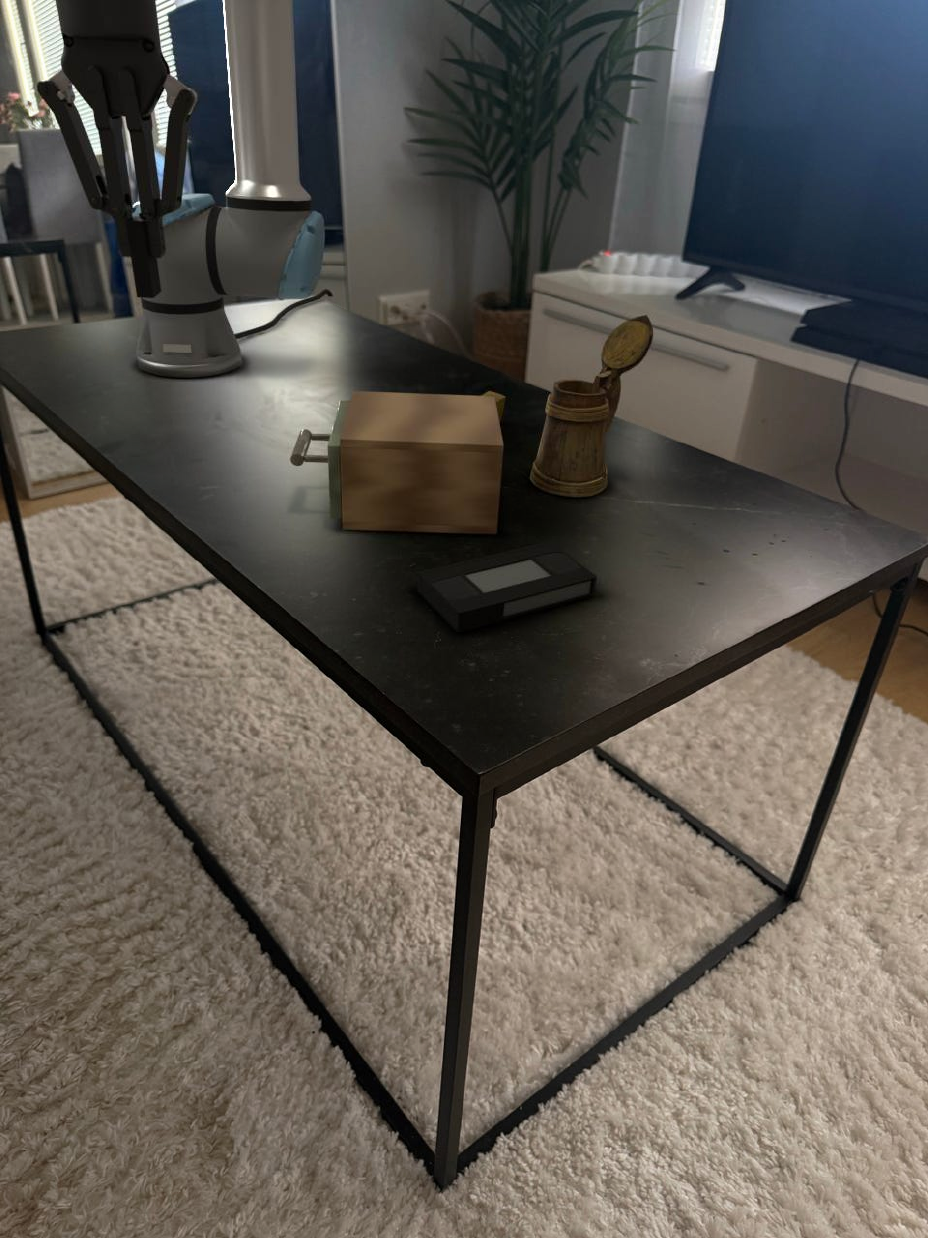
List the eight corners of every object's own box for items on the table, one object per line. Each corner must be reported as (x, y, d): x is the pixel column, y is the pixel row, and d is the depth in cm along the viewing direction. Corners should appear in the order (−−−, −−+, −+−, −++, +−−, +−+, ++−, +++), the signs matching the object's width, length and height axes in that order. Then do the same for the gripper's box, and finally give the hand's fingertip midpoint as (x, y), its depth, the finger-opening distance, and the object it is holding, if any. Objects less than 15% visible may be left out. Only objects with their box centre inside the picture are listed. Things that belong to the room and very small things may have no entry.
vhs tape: (594, 595, 76) (597, 576, 75) (457, 633, 70) (459, 613, 69) (548, 559, 81) (550, 541, 80) (417, 591, 75) (417, 572, 74)
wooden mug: (650, 479, 99) (678, 323, 89) (565, 504, 92) (586, 337, 83) (598, 455, 105) (619, 306, 95) (514, 475, 98) (528, 317, 88)
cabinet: (342, 529, 84) (340, 439, 79) (354, 472, 97) (352, 390, 92) (496, 534, 85) (503, 445, 80) (488, 477, 98) (494, 396, 92)
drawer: (288, 517, 84) (283, 443, 80) (305, 465, 95) (301, 398, 91) (473, 523, 85) (477, 450, 81) (468, 471, 96) (472, 405, 92)
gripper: (-3, -31, 62) (63, 300, 75) (174, -20, 63) (210, 306, 76) (37, -21, 69) (92, 282, 81) (198, -11, 69) (227, 289, 82)
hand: (149, 294), depth 79 cm, fingers closed
